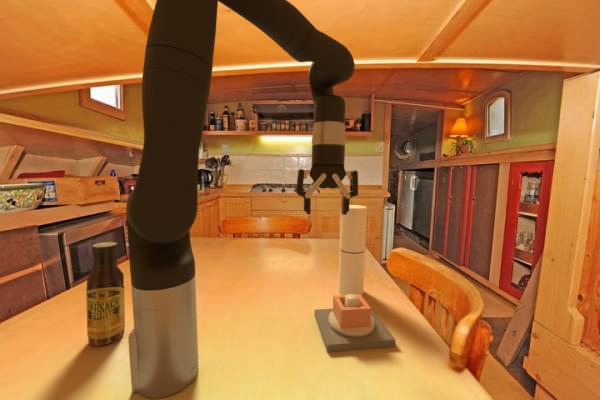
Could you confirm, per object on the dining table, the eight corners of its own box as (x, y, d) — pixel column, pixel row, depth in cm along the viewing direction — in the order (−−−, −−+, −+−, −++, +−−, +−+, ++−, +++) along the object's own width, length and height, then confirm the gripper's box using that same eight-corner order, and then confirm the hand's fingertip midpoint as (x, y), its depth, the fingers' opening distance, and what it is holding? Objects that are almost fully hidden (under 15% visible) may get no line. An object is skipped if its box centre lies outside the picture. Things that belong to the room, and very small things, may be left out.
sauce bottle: (83, 351, 50) (74, 250, 48) (93, 333, 56) (86, 242, 53) (124, 343, 53) (117, 246, 50) (130, 326, 58) (124, 239, 56)
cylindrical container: (344, 298, 72) (347, 208, 69) (334, 287, 79) (336, 205, 76) (367, 295, 74) (371, 208, 71) (356, 284, 81) (359, 204, 78)
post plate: (327, 352, 51) (327, 315, 50) (314, 315, 63) (315, 285, 63) (395, 346, 52) (397, 311, 52) (369, 312, 65) (370, 283, 64)
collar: (340, 328, 54) (341, 310, 54) (332, 312, 60) (333, 295, 60) (370, 326, 55) (371, 308, 55) (359, 310, 61) (360, 294, 61)
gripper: (299, 141, 55) (297, 216, 57) (364, 143, 57) (360, 217, 59) (296, 145, 63) (294, 211, 65) (353, 146, 64) (350, 212, 66)
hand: (326, 214), depth 62 cm, fingers open, 8 cm apart
